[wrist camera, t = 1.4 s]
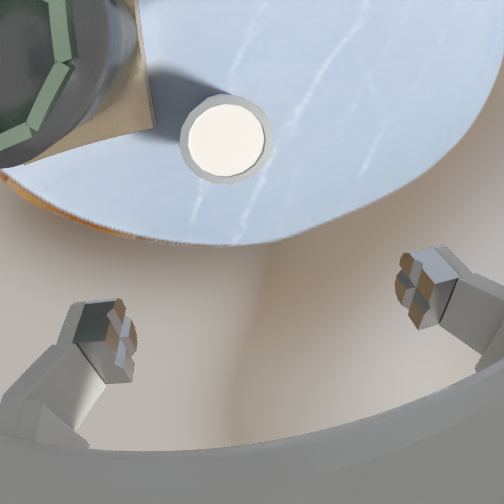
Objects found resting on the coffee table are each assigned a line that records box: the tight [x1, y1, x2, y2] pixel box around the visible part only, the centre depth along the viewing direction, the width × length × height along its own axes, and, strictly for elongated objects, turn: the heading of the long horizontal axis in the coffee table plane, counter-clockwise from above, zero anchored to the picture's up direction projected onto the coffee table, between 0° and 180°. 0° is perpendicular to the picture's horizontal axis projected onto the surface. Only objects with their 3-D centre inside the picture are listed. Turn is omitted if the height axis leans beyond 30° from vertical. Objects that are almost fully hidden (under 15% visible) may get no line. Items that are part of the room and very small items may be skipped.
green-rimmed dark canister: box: [0, 0, 156, 169], centre depth 15 cm, size 18×14×13 cm
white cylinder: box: [179, 94, 274, 184], centre depth 24 cm, size 7×7×7 cm
